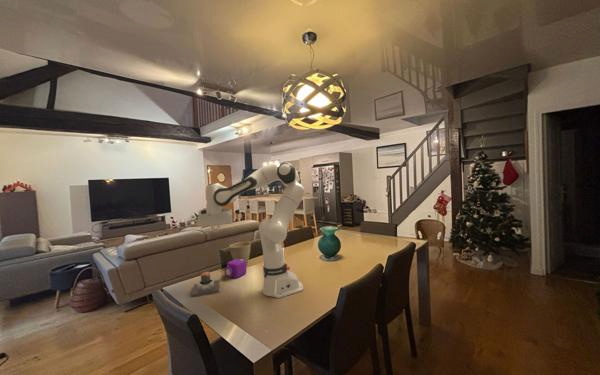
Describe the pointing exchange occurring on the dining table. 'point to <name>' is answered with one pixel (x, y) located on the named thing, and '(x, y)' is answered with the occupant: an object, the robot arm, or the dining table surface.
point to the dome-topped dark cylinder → (205, 277)
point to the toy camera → (235, 268)
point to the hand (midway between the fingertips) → (215, 232)
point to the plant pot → (240, 251)
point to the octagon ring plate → (205, 288)
